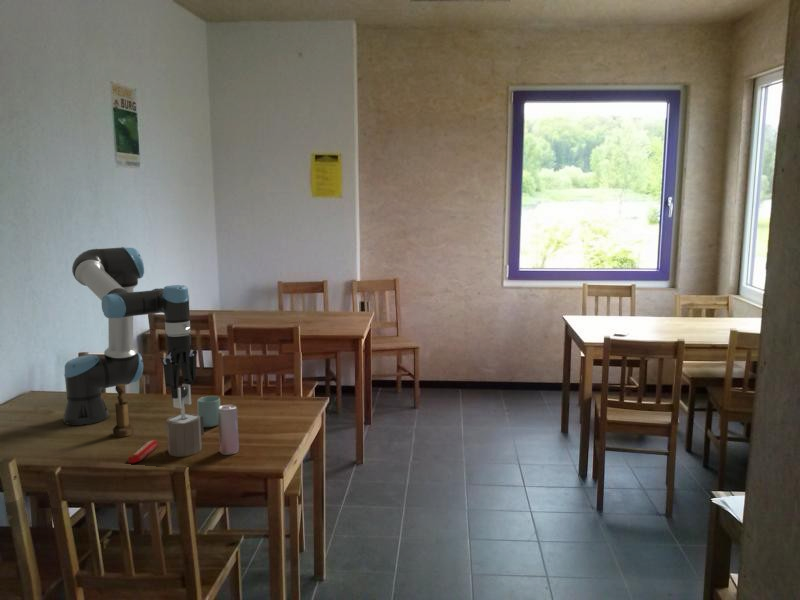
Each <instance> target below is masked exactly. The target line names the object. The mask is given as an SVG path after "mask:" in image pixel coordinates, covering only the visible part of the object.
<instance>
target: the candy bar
mask: <svg viewBox="0 0 800 600" xmlns="http://www.w3.org/2000/svg"><path fill="white" fill-rule="evenodd" d="M158 442H159V440H156V439H152V440H148V441H146V442H145V443H143V444H142V445H141V446H140V447H139V448H138V449H136V450H135V451H134V452H133V453H131V454H130V455H129V456H128V463H127V464H130V463H132V464H136V463H139V462H141V461H142V460H144V459H145V458H146V457H147V456H148V455H149V454H150V453H152V451H154V450H155V449H157V446H158Z"/></svg>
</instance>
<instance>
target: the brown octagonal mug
mask: <svg viewBox="0 0 800 600" xmlns="http://www.w3.org/2000/svg"><path fill="white" fill-rule="evenodd" d="M165 422H166V424H165V425H166V435H167V436H166V438H167V453H168V454H169V456H173V457H177V458H179V457H188V456H193V455H196V454H197V453H200V452H201V450H202V448H203V446H202V436H203V435H205V433H204V427H203V416H199V415H198V413H197V414H196V413H185V420H181V413H180V414H175V415H172V416H170V417H168V418H167V419H166V420H165Z"/></svg>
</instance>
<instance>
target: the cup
mask: <svg viewBox="0 0 800 600" xmlns="http://www.w3.org/2000/svg"><path fill="white" fill-rule="evenodd" d="M196 403H197V404H196V405H197V406H196V407H197V415H199V416H203V428H213V427H216V426H218V425H219V424H218V408H219V407H220V406H221V399H220V397H219V396H216V395H207V396H202V397H199V398H197V402H196Z"/></svg>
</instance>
